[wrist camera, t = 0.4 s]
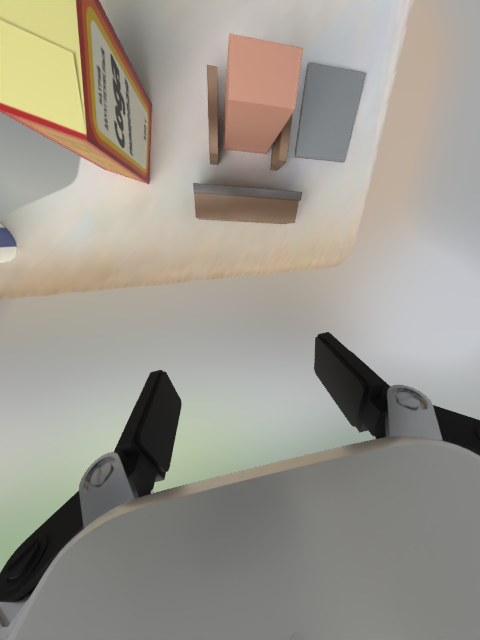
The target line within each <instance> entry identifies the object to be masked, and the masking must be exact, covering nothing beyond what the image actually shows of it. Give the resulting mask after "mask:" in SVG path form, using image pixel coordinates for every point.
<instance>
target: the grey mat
mask: <svg viewBox="0 0 480 640" xmlns="http://www.w3.org/2000/svg"><path fill="white" fill-rule="evenodd" d="M365 76H366V73H363V72H358V71H352V70H347V69H342V68H336V67H331V66H326V65H320V64H315V63H310V62H309V63H308V65H307V72H306V79H305V86H304V93H303V100H302V108H301V115H300V122H299V129H298V136H297V143H296V150H295V157H299V158H308V159H317V160H326V161H335V162H344V161H345V158H346V154H347V150H348V146H349V141H350V137H351V133H352V129H353V125H354V121H355V117H356V113H357V109H358V105H359V100H360V96H361V92H362V88H363V84H364V80H365Z"/></svg>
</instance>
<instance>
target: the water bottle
mask: <svg viewBox="0 0 480 640" xmlns="http://www.w3.org/2000/svg"><path fill="white" fill-rule="evenodd" d="M16 253H17V246H16V242H15V240H14V238H13V236H12V235H11V234H10V232H9V231H8V230H7V229H6V228H5V227H4V226H3V225H2V224H0V263H2V262H8V261H10V260H12V259H13V258H14V257H15V256H16Z"/></svg>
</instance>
